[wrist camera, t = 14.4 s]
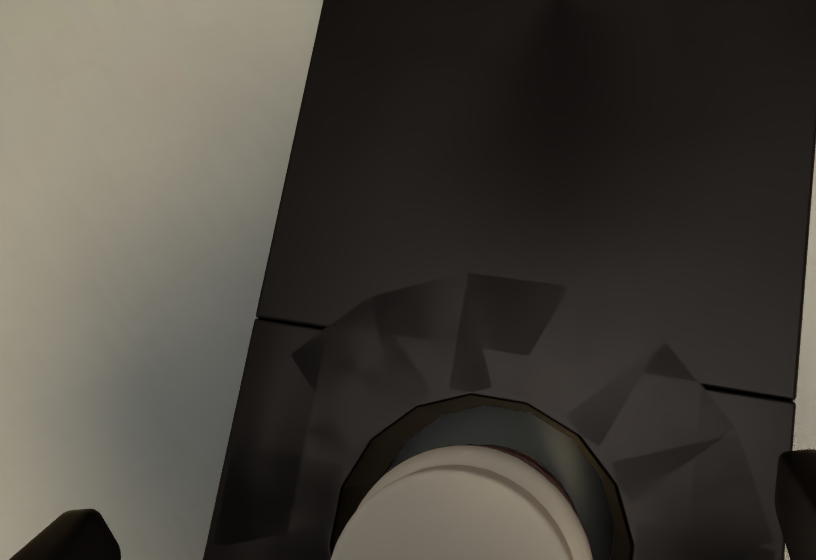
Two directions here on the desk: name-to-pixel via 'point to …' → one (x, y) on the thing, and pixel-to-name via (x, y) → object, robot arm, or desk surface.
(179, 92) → the desk surface
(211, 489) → the desk surface
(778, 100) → the base
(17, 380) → the desk surface
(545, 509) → the pill bottle
